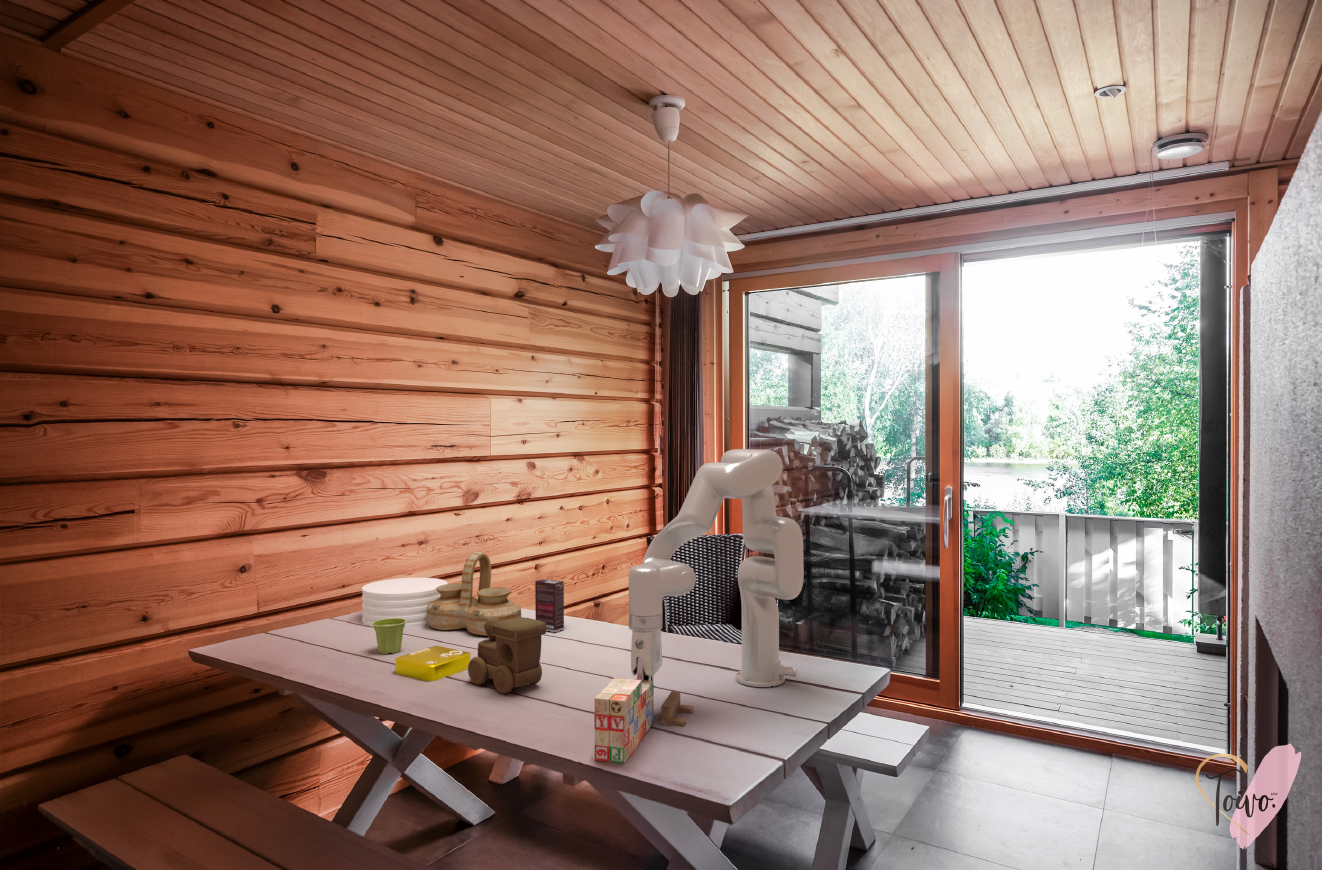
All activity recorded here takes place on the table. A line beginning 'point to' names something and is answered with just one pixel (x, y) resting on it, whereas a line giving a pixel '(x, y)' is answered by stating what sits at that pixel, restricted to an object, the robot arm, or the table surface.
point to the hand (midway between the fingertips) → (645, 702)
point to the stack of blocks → (622, 718)
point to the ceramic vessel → (471, 601)
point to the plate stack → (399, 600)
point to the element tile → (432, 663)
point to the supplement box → (550, 603)
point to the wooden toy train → (509, 653)
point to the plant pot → (389, 634)
